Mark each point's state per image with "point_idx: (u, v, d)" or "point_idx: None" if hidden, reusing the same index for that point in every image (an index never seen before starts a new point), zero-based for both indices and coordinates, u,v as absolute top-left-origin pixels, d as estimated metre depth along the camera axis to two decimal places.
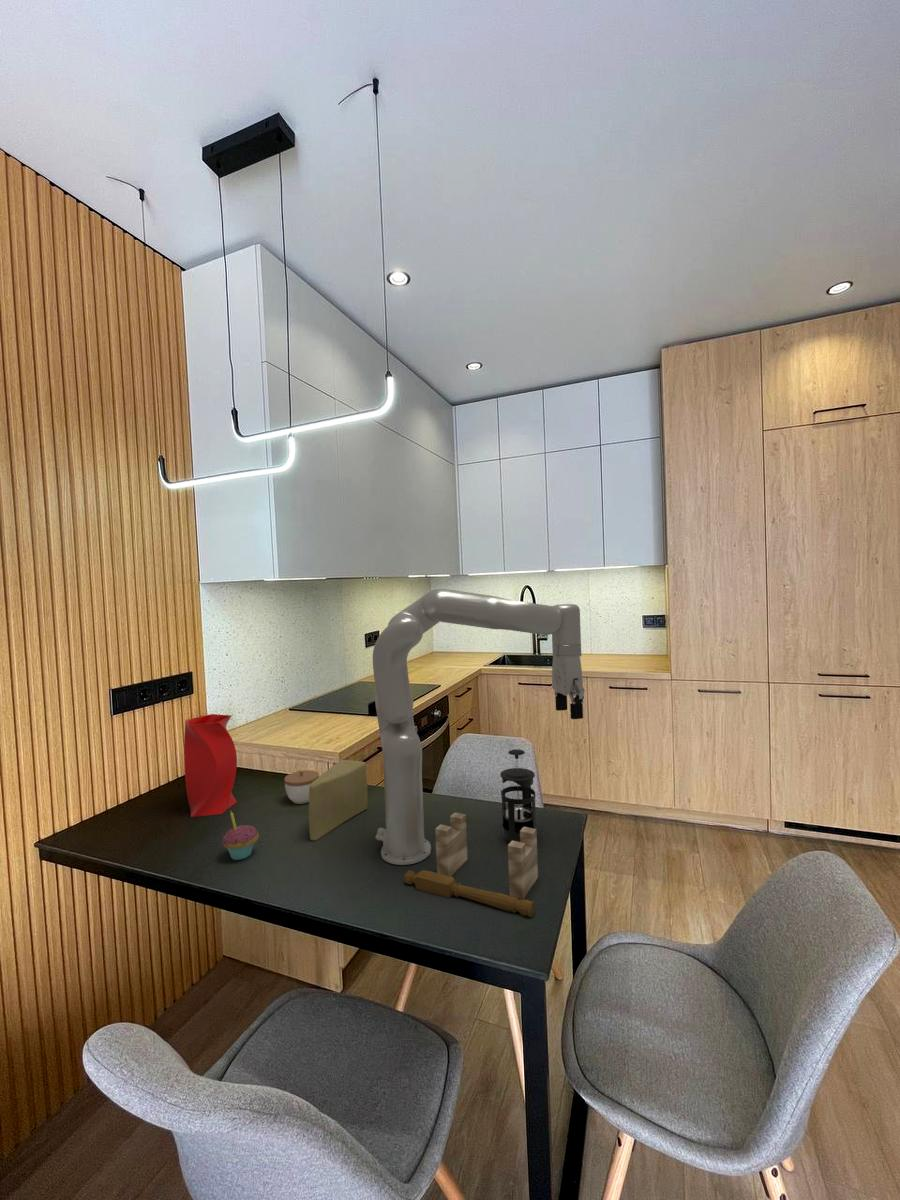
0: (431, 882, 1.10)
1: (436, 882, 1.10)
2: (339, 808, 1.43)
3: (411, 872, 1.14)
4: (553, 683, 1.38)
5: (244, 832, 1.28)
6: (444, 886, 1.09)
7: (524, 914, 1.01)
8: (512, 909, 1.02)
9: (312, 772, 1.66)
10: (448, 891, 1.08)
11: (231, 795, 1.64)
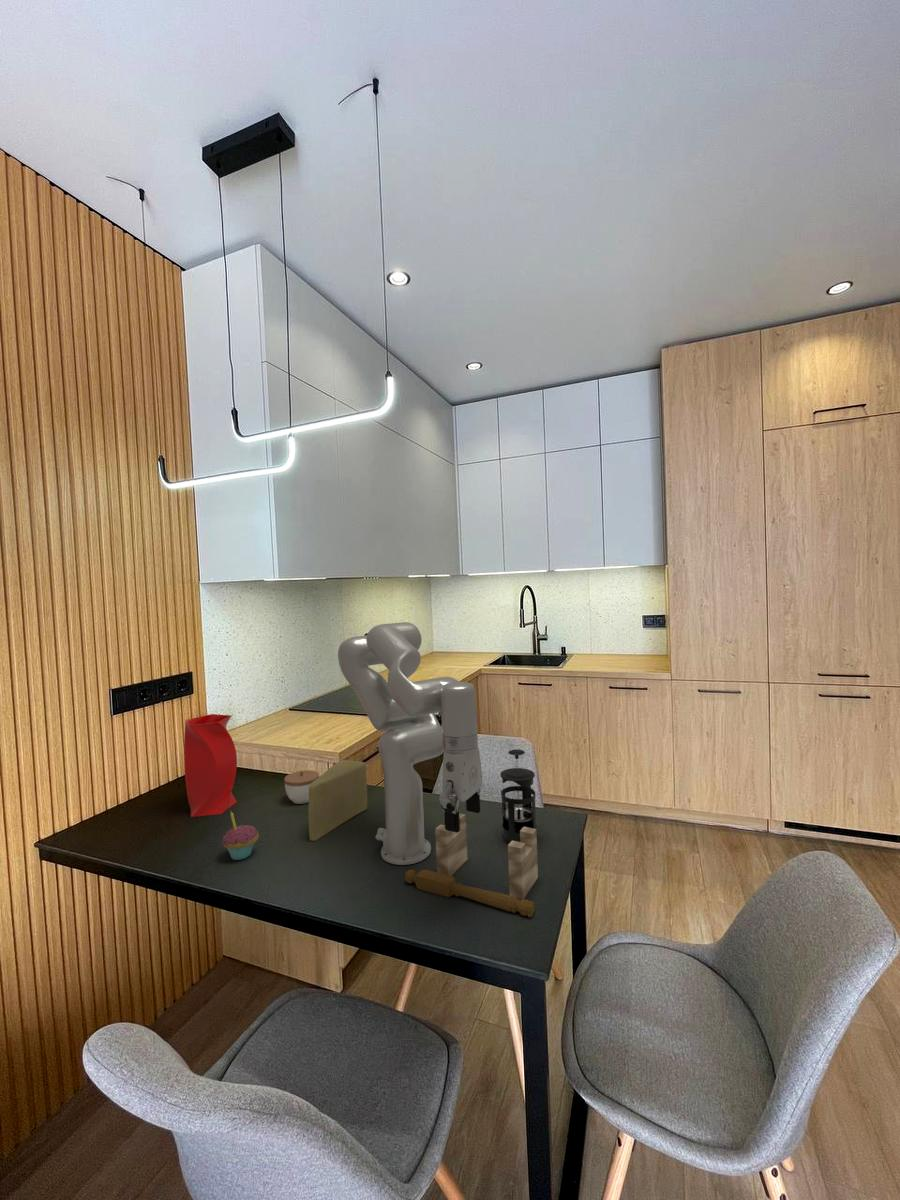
0: (432, 882, 1.10)
1: (436, 881, 1.10)
2: (338, 809, 1.43)
3: (412, 871, 1.14)
4: (466, 791, 1.04)
5: (244, 832, 1.28)
6: (444, 885, 1.09)
7: (524, 914, 1.01)
8: (512, 909, 1.02)
9: (312, 772, 1.66)
10: (449, 891, 1.08)
11: (231, 795, 1.64)
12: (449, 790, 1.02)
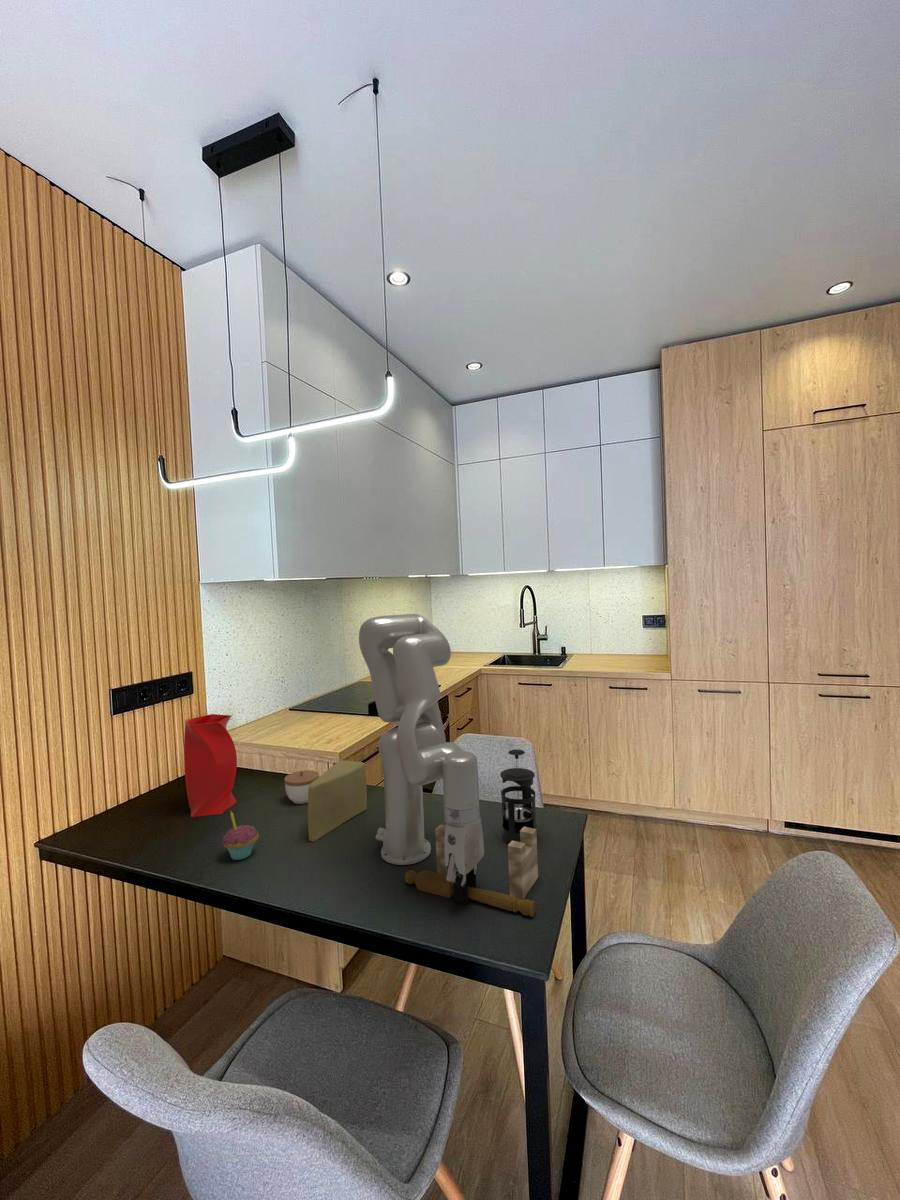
0: (432, 882, 1.10)
1: (437, 882, 1.10)
2: (338, 809, 1.43)
3: (412, 872, 1.14)
4: (468, 865, 1.04)
5: (244, 832, 1.28)
6: (445, 885, 1.09)
7: (525, 914, 1.01)
8: (513, 909, 1.02)
9: (312, 772, 1.66)
10: (449, 891, 1.08)
11: (231, 795, 1.64)
12: (454, 868, 1.03)
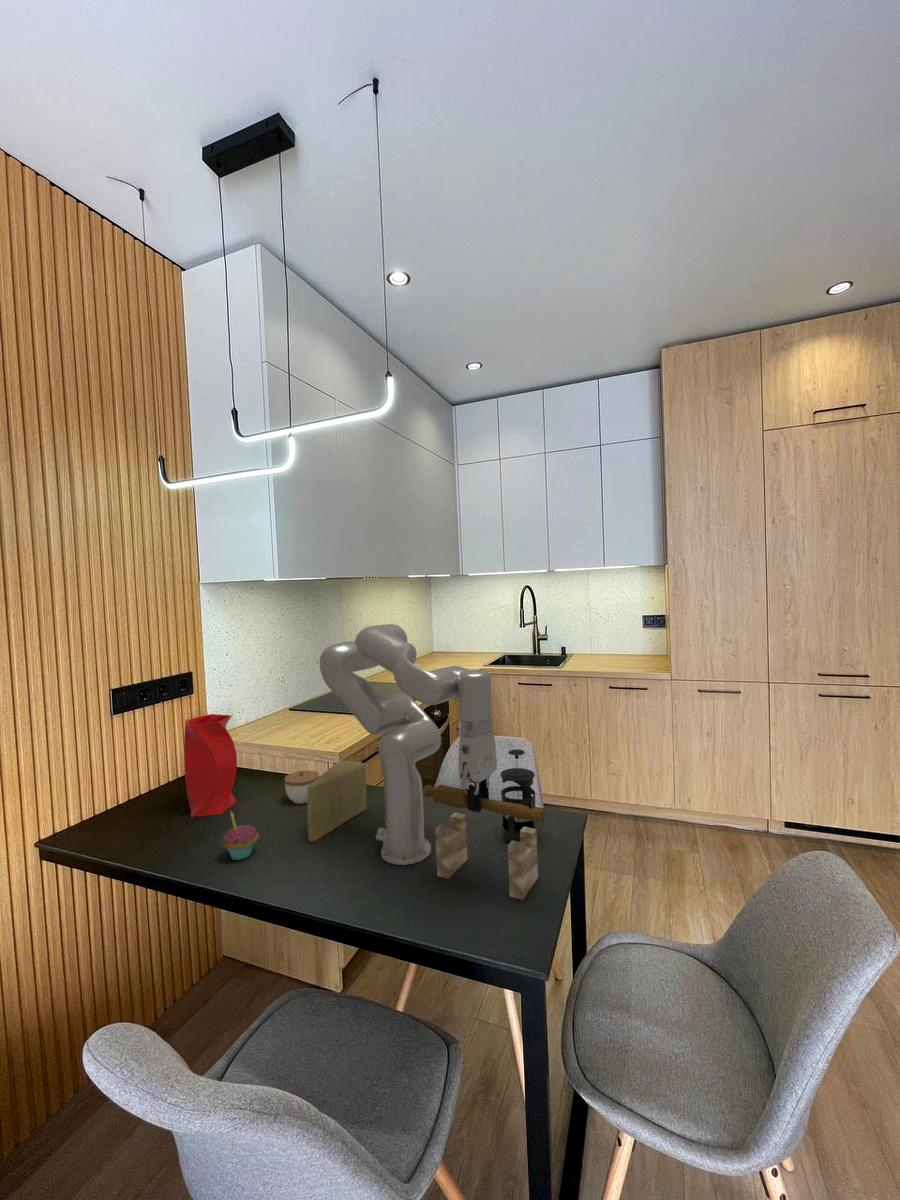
0: (448, 794, 1.16)
1: (452, 793, 1.15)
2: (337, 809, 1.42)
3: (429, 786, 1.20)
4: (480, 773, 1.09)
5: (244, 832, 1.28)
6: (459, 796, 1.14)
7: (534, 820, 1.05)
8: (523, 816, 1.06)
9: (312, 772, 1.66)
10: (463, 801, 1.14)
11: (231, 795, 1.64)
12: (467, 776, 1.09)
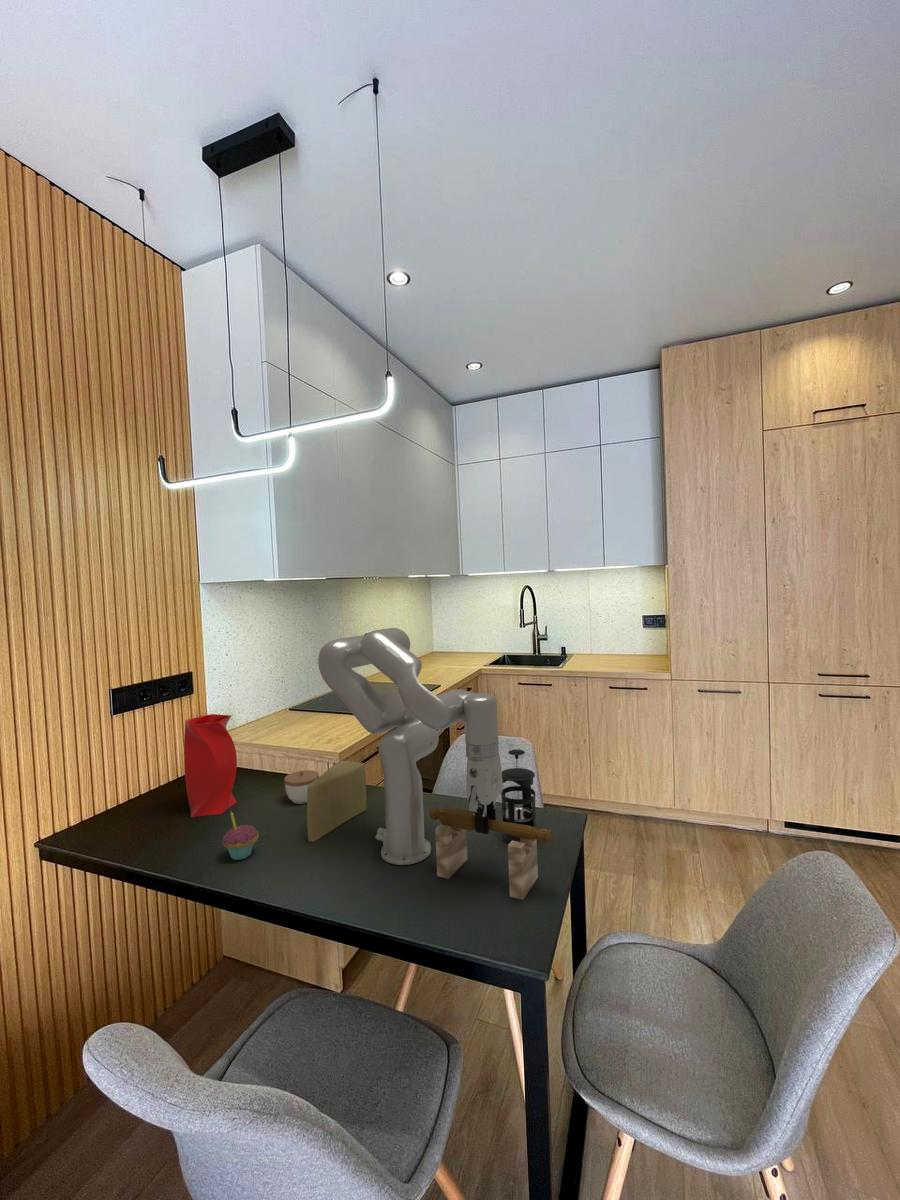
0: (455, 816, 1.17)
1: (459, 815, 1.17)
2: (337, 810, 1.42)
3: (436, 808, 1.22)
4: (488, 796, 1.11)
5: (244, 832, 1.28)
6: (467, 818, 1.16)
7: (542, 841, 1.08)
8: (531, 837, 1.09)
9: (312, 772, 1.66)
10: (471, 823, 1.15)
11: (231, 795, 1.64)
12: (476, 799, 1.10)
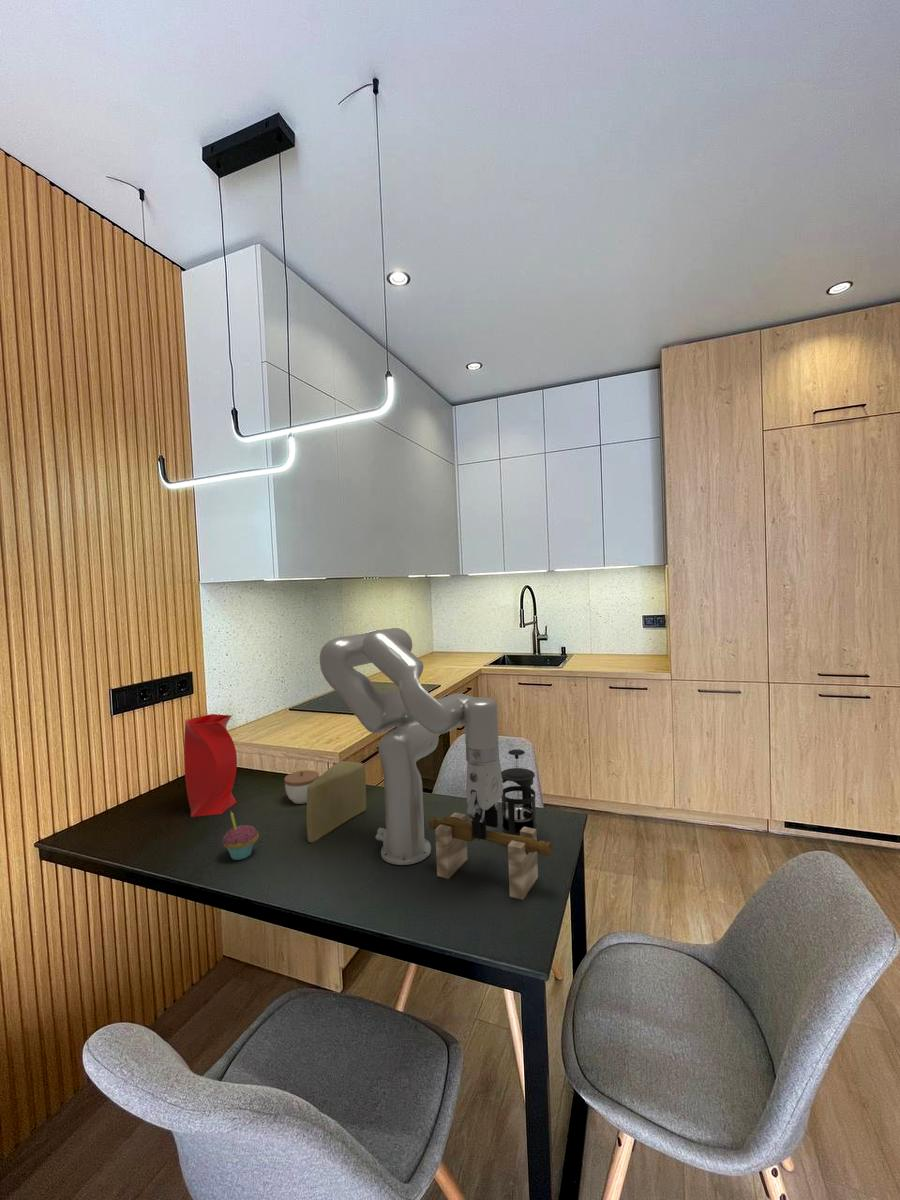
0: (455, 827, 1.18)
1: (459, 826, 1.17)
2: (337, 810, 1.42)
3: (435, 818, 1.22)
4: (488, 801, 1.11)
5: (244, 832, 1.28)
6: (467, 829, 1.16)
7: (542, 853, 1.08)
8: (530, 849, 1.09)
9: (312, 772, 1.66)
10: (471, 834, 1.16)
11: (231, 795, 1.64)
12: (474, 803, 1.10)
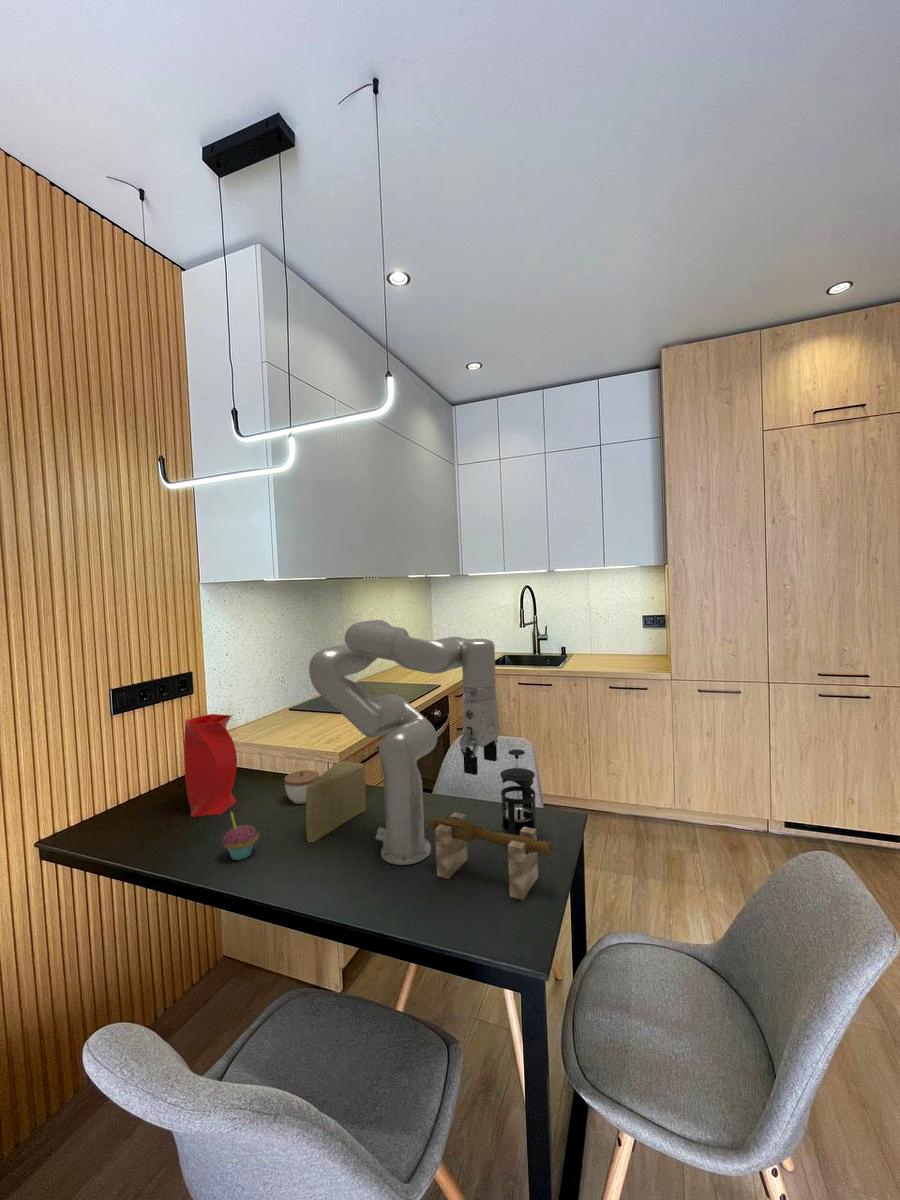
0: (455, 827, 1.18)
1: (459, 826, 1.17)
2: (336, 810, 1.42)
3: (435, 818, 1.22)
4: (484, 738, 1.12)
5: (244, 832, 1.28)
6: (467, 829, 1.16)
7: (542, 853, 1.08)
8: (530, 849, 1.09)
9: (312, 772, 1.66)
10: (471, 834, 1.16)
11: (231, 795, 1.64)
12: (468, 735, 1.11)
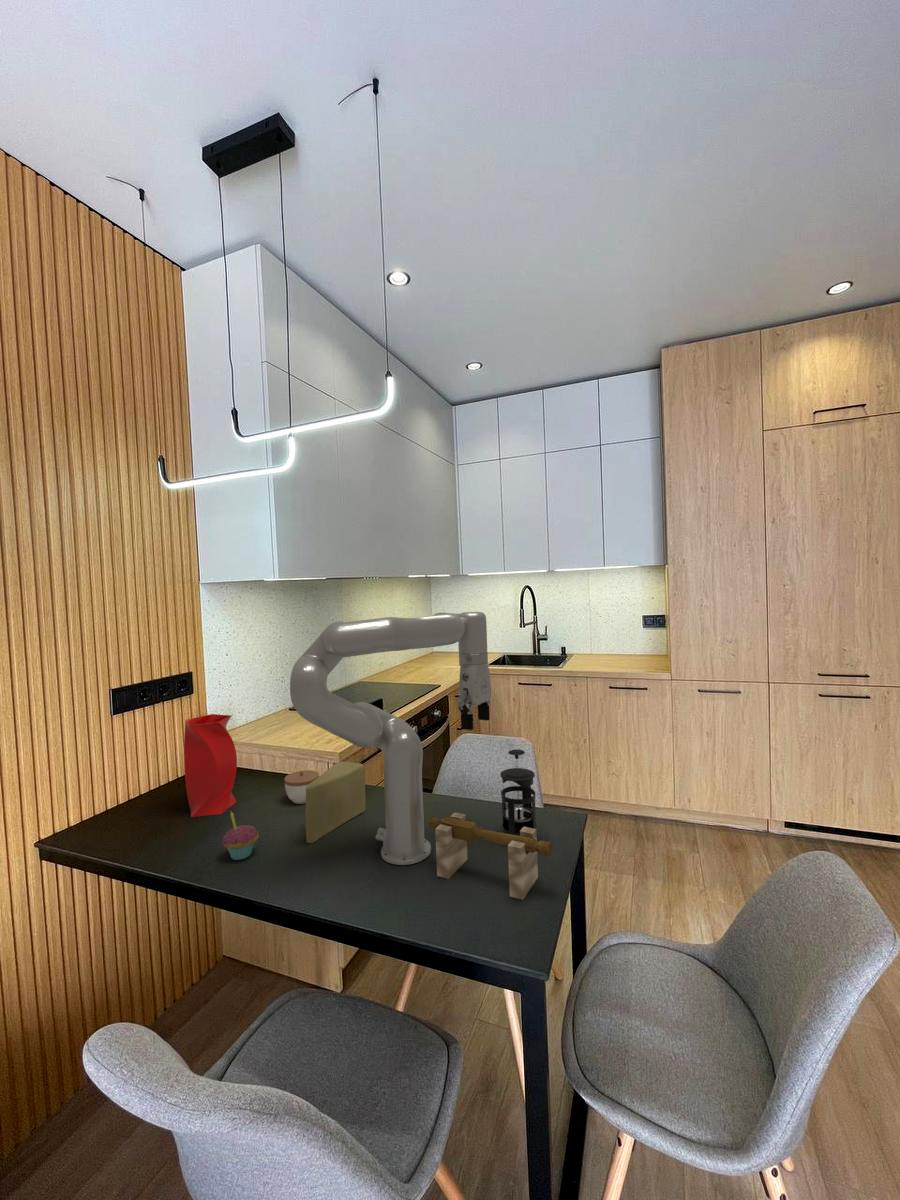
0: (455, 827, 1.18)
1: (459, 826, 1.17)
2: (336, 811, 1.42)
3: (435, 818, 1.22)
4: (478, 697, 1.28)
5: (244, 832, 1.28)
6: (467, 829, 1.16)
7: (542, 853, 1.08)
8: (530, 849, 1.09)
9: (312, 772, 1.66)
10: (471, 834, 1.16)
11: (231, 795, 1.64)
12: (465, 695, 1.26)
